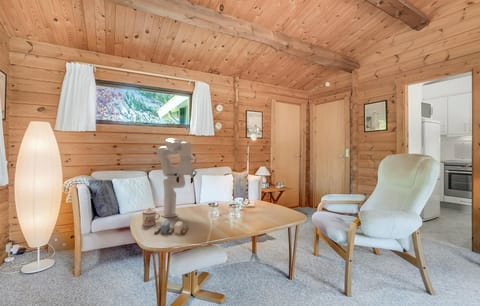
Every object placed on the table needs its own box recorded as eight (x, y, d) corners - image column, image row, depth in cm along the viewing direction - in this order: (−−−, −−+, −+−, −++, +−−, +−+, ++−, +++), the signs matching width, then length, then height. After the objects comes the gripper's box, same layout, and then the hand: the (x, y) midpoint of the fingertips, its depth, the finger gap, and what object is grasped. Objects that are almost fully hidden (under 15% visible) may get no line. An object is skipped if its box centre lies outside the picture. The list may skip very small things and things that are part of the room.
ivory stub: (177, 228, 159) (177, 221, 159) (182, 228, 159) (182, 221, 159) (174, 233, 150) (174, 225, 150) (179, 233, 150) (180, 225, 150)
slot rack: (160, 228, 161) (160, 225, 161) (188, 229, 162) (188, 225, 162) (153, 235, 147) (153, 231, 147) (184, 236, 148) (184, 232, 148)
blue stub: (164, 228, 159) (164, 221, 159) (169, 228, 159) (170, 221, 159) (160, 233, 150) (160, 225, 150) (166, 233, 150) (166, 225, 150)
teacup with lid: (143, 226, 164) (144, 210, 164) (140, 223, 172) (141, 207, 172) (161, 224, 170) (161, 208, 170) (158, 221, 178) (158, 205, 178)
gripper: (198, 159, 176) (197, 182, 176) (174, 158, 175) (173, 181, 175) (196, 159, 168) (196, 183, 168) (172, 158, 168) (171, 183, 168)
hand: (184, 182), depth 172 cm, fingers open, 9 cm apart
